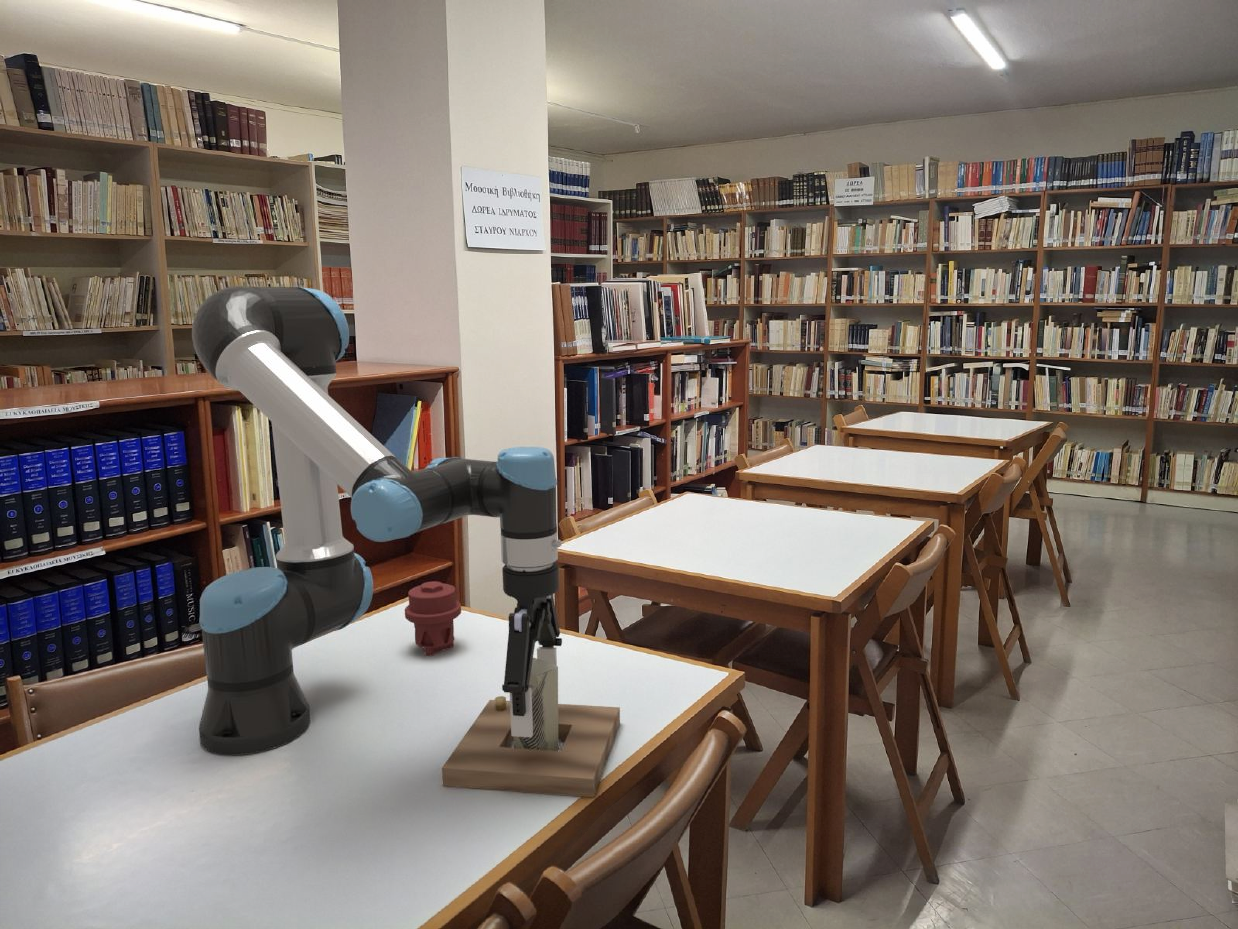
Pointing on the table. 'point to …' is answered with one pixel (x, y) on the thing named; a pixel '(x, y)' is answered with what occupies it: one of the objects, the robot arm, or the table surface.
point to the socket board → (534, 753)
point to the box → (542, 708)
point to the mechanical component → (433, 615)
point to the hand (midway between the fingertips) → (535, 712)
